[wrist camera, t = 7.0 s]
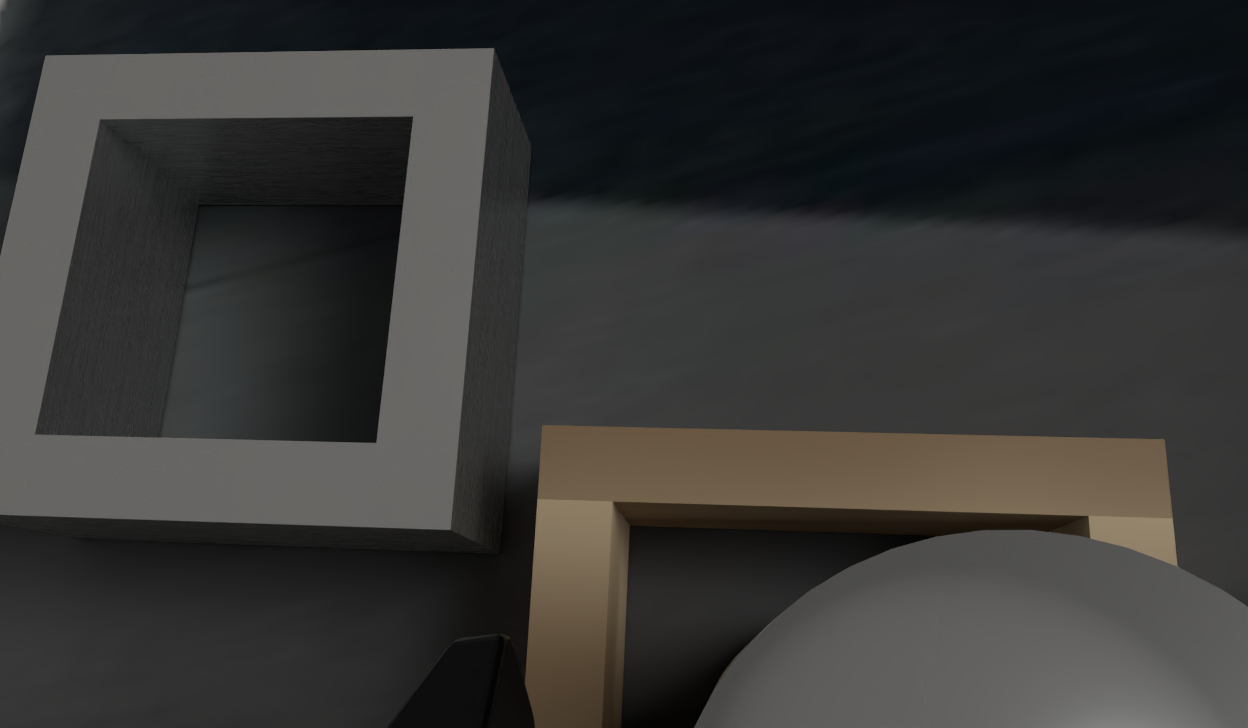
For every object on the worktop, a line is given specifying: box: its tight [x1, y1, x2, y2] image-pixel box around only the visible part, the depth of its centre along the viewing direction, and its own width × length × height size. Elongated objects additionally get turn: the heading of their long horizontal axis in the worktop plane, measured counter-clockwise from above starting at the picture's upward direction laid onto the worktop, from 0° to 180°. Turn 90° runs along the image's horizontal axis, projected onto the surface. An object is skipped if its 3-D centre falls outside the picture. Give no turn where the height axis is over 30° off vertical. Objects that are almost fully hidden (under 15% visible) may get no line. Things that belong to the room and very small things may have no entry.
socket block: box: [0, 48, 531, 554], centre depth 16 cm, size 7×7×3 cm
